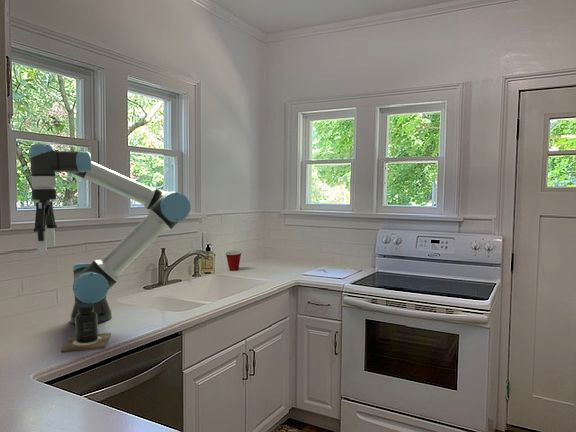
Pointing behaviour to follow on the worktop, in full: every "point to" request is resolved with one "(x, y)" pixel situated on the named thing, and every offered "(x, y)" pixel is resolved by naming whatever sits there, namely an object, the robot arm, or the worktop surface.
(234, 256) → the plastic cup
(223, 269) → the worktop surface
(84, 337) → the supplement bottle
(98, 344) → the board
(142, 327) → the worktop surface
